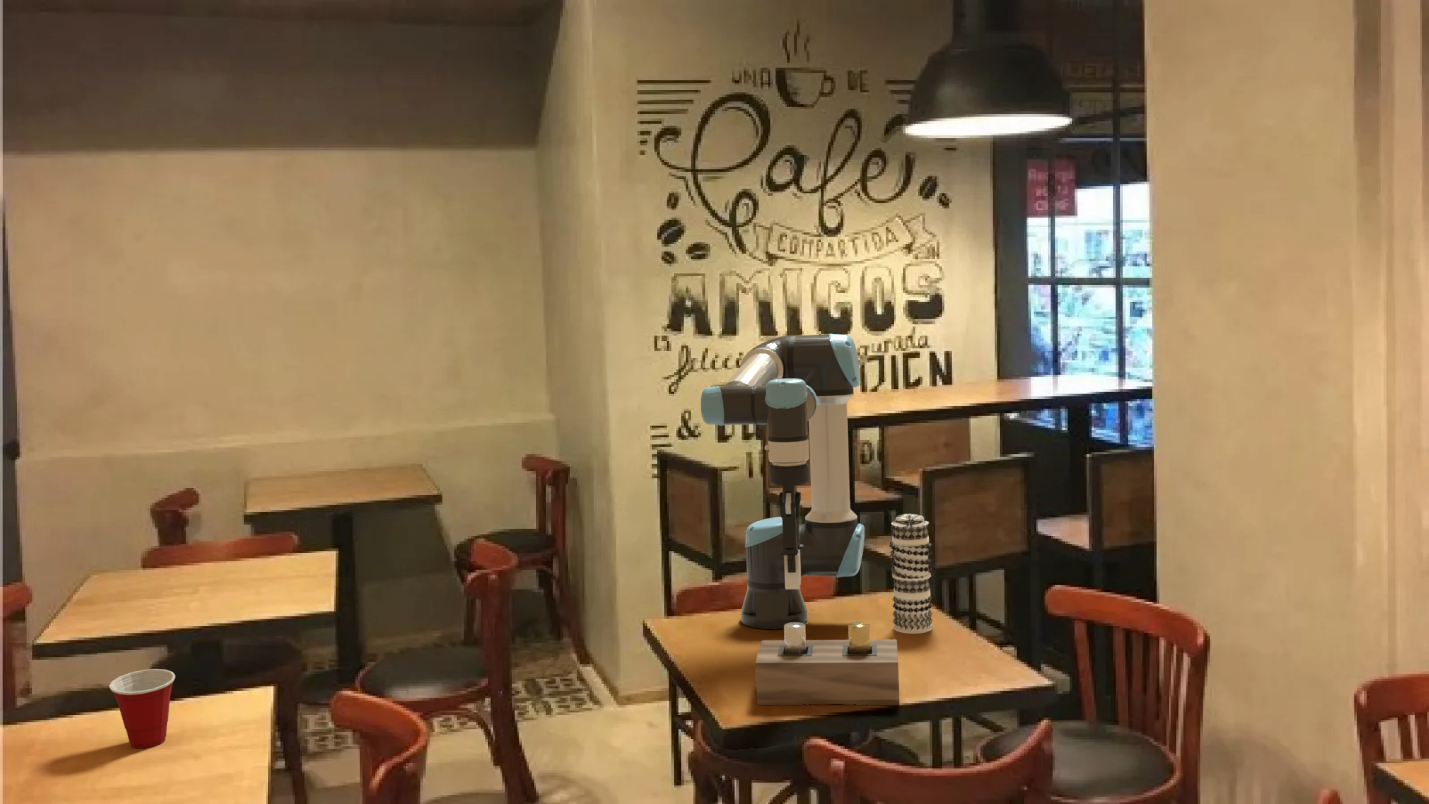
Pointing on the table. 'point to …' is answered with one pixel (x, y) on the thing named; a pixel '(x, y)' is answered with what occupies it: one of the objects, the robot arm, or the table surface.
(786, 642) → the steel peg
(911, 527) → the white patterned cylinder
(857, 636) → the brass peg
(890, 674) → the walnut block
